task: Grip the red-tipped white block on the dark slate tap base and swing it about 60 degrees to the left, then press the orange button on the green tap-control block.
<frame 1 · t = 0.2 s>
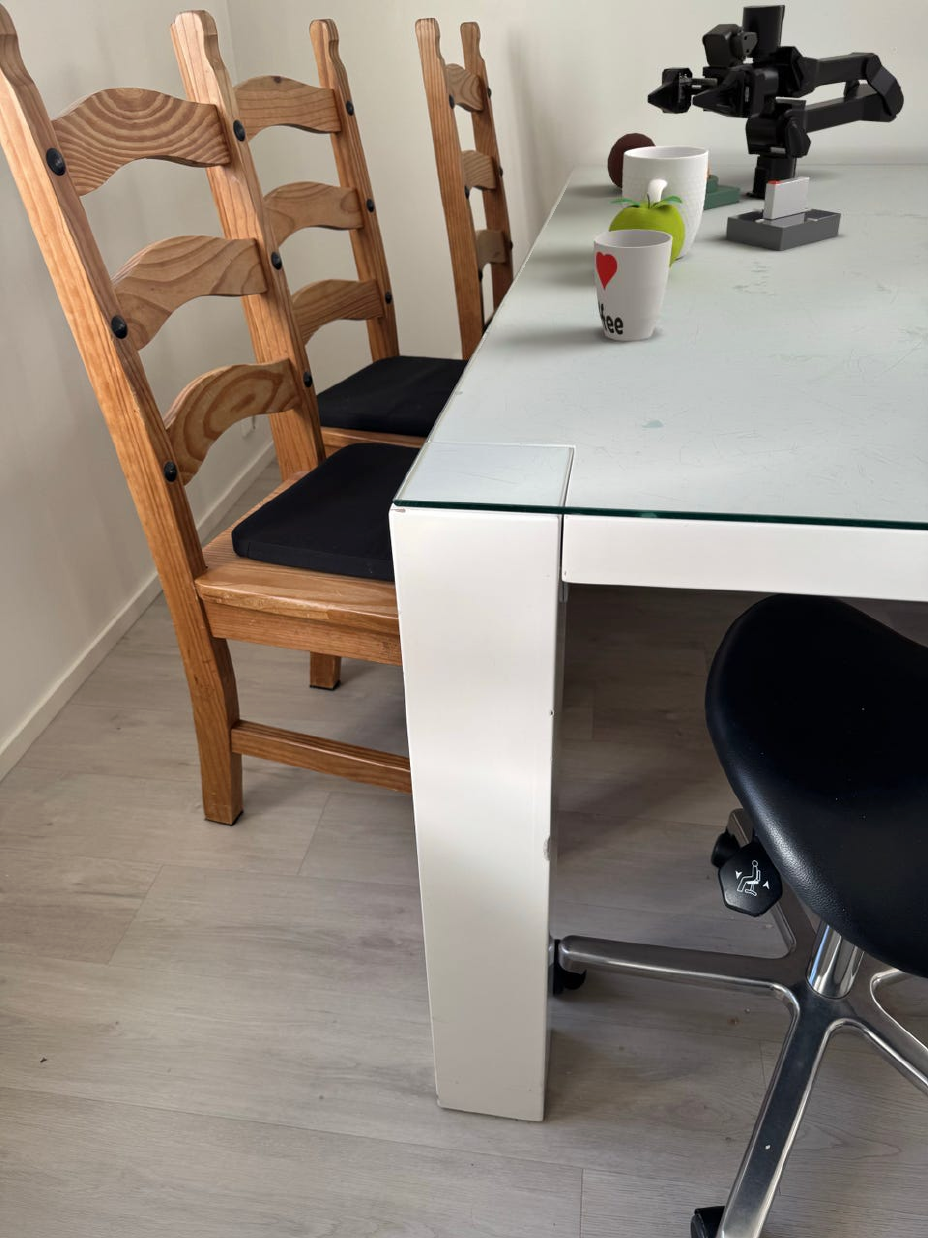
hand: (670, 99, 142), 17 cm above the table, tool horizontal, fingers open, 9 cm apart
red-tipped white block: (786, 196, 135), point 5 cm above the table, hinge at 0.0°
cup: (628, 335, 106), on the table
fruit: (644, 278, 125), on the table, touching mug
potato: (630, 191, 173), on the table
button: (697, 174, 158), point 4 cm above the table, slide at 0.1 cm
tap base: (781, 237, 138), on the table
mug: (658, 258, 132), on the table, touching fruit
tap control: (695, 203, 161), on the table
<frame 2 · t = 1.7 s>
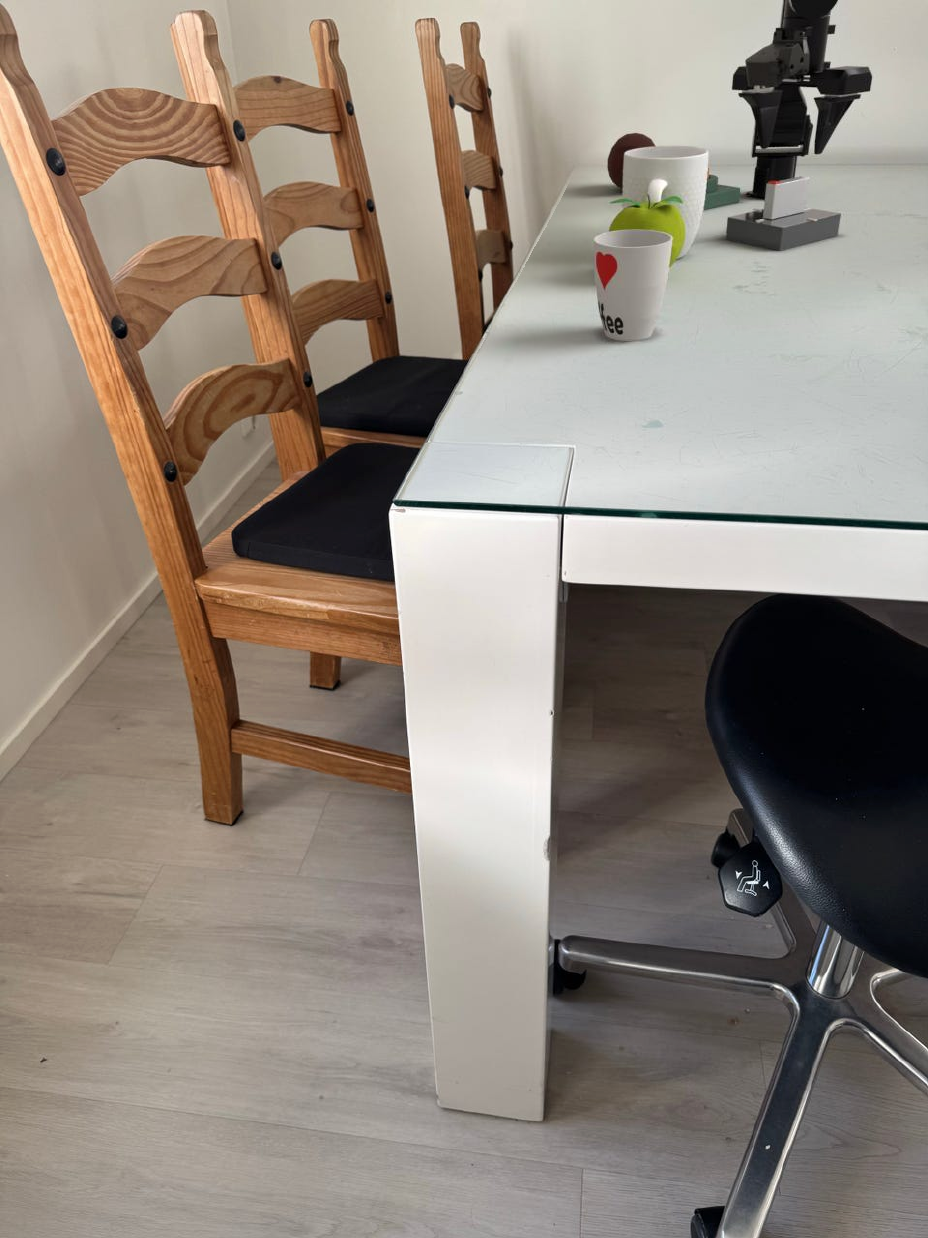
hand: (790, 151, 132), 11 cm above the table, tool pointing down, fingers open, 9 cm apart
nothing on the table moved.
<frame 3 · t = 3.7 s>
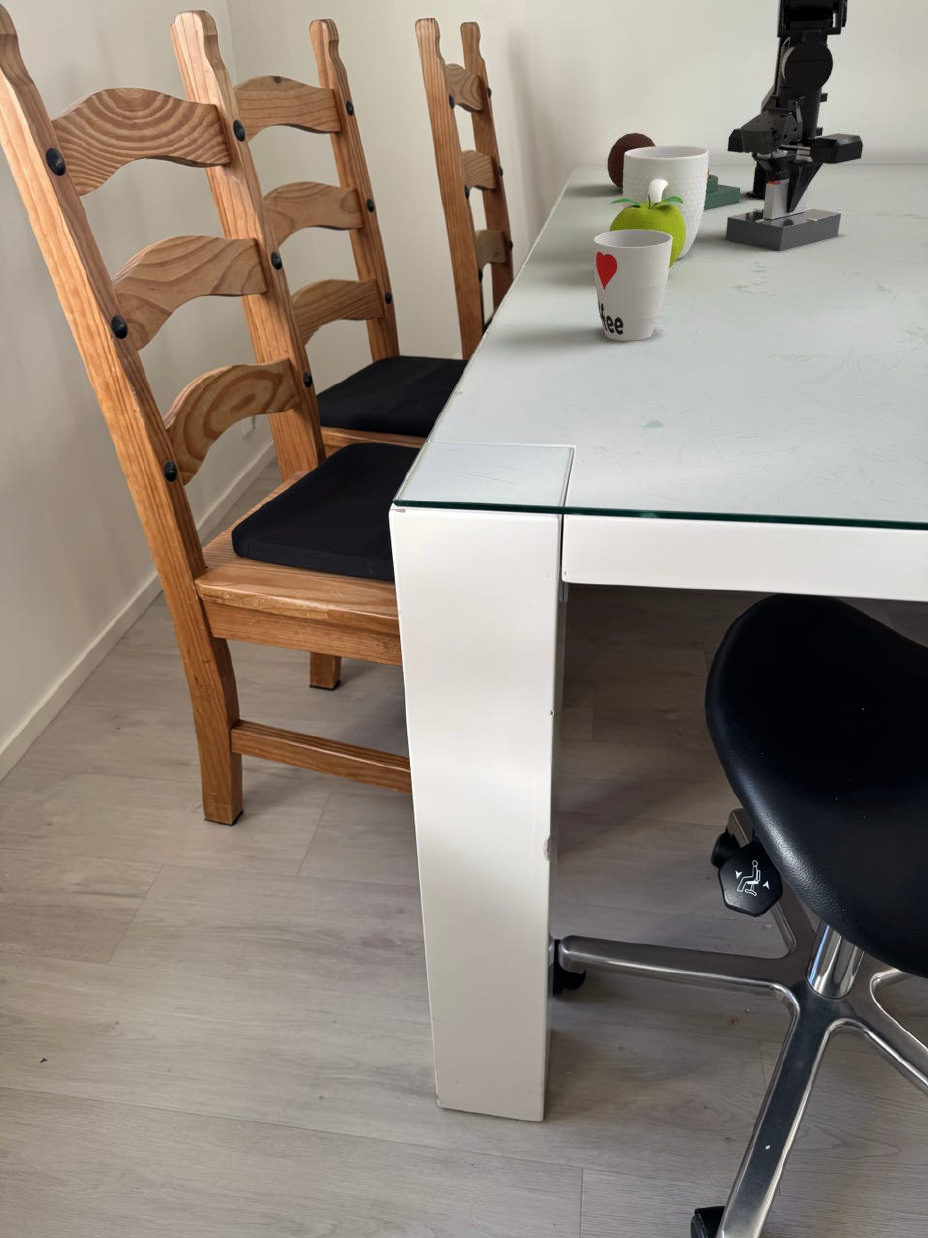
hand: (784, 211, 136), 4 cm above the table, tool pointing down, fingers closed on red-tipped white block, 2 cm apart
red-tipped white block: (786, 196, 135), point 5 cm above the table, hinge at 0.0°, touching gripper
everything else where it was.
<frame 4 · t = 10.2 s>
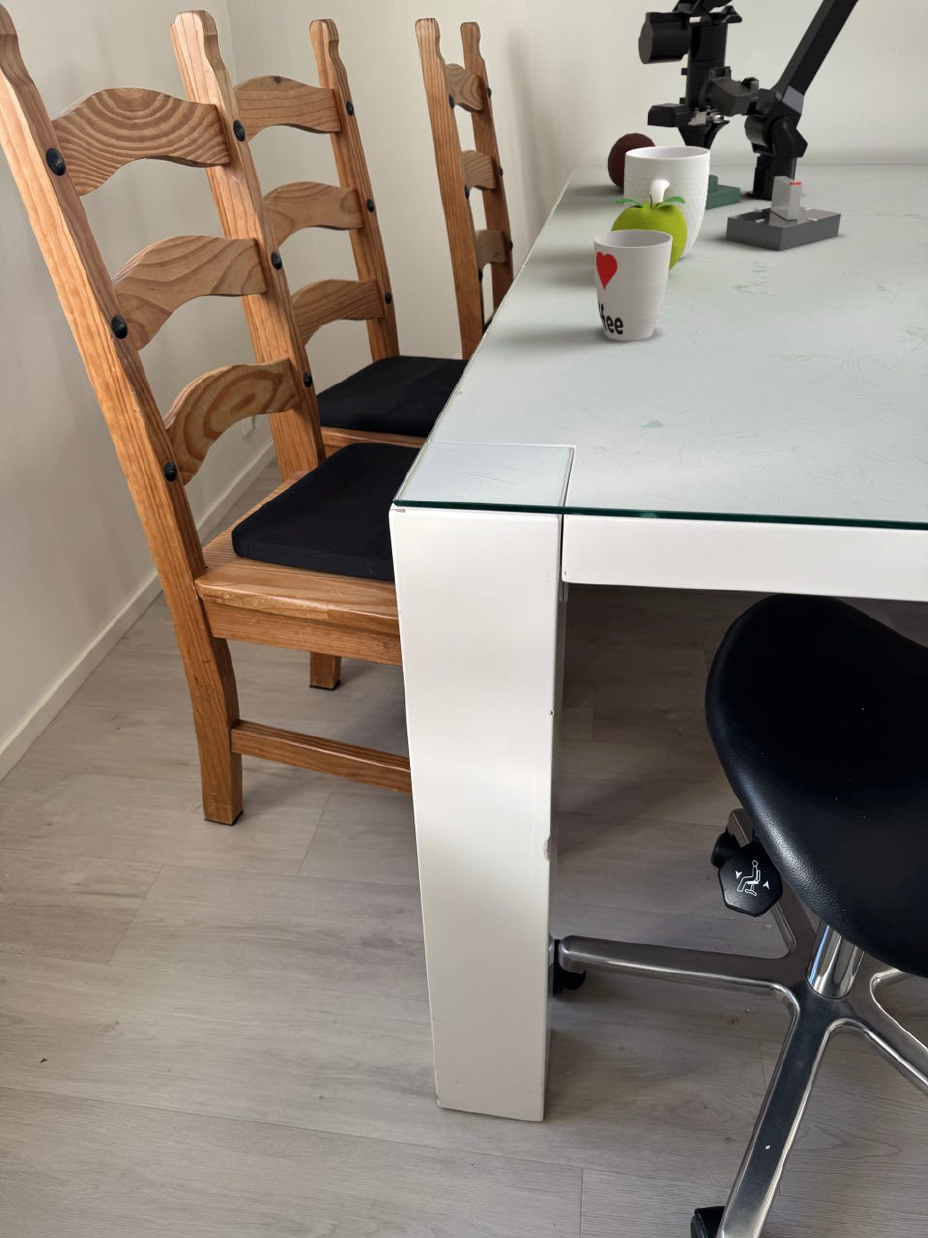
hand: (698, 169, 158), 5 cm above the table, tool pointing down, fingers closed, pressing on button
red-tipped white block: (786, 196, 135), point 5 cm above the table, hinge at 59.8°
button: (697, 175, 158), point 4 cm above the table, slide at 0.0 cm, touching gripper
everything else where it was.
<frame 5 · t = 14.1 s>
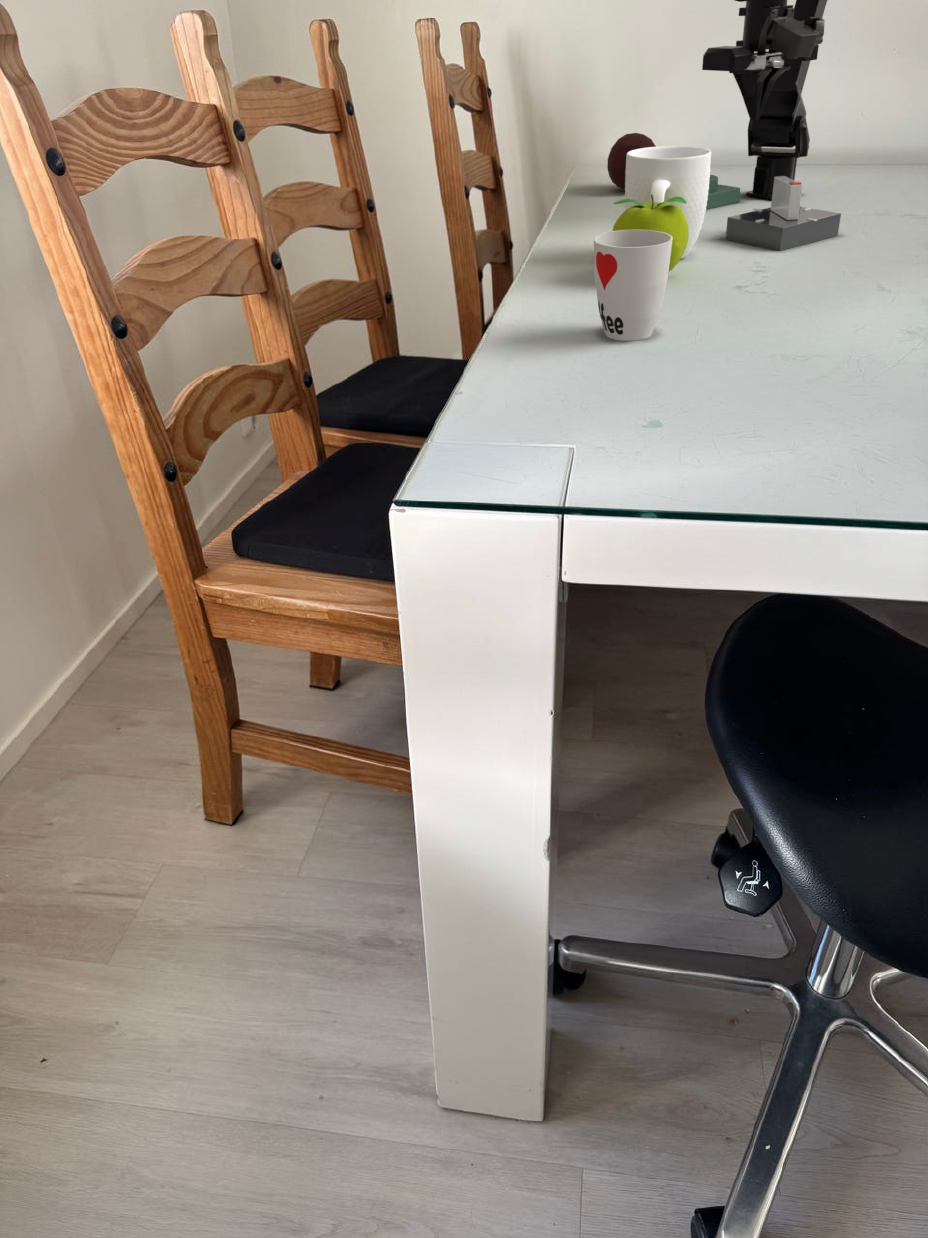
hand: (754, 119, 147), 13 cm above the table, tool pointing down, fingers closed
button: (697, 174, 158), point 4 cm above the table, slide at 0.1 cm
everything else where it was.
at the end: red-tipped white block at +60° (first picture: +0°); button pushed in 1.1 cm at the most during the clip, back to where it started at the end; button slide at 0.1 cm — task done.
